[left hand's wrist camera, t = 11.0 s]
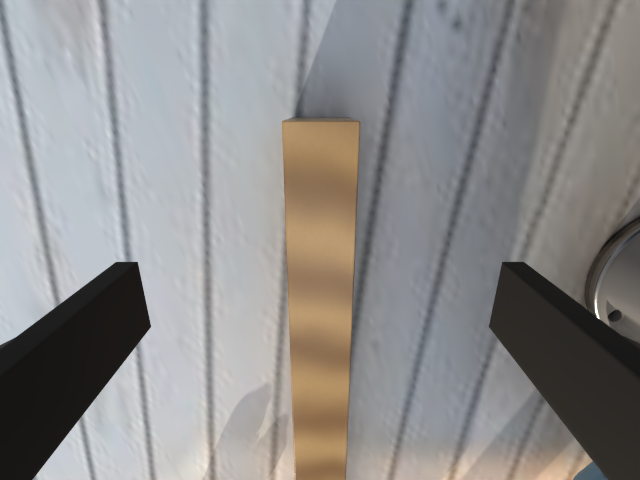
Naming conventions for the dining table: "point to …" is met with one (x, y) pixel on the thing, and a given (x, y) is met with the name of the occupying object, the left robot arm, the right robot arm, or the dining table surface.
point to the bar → (320, 286)
